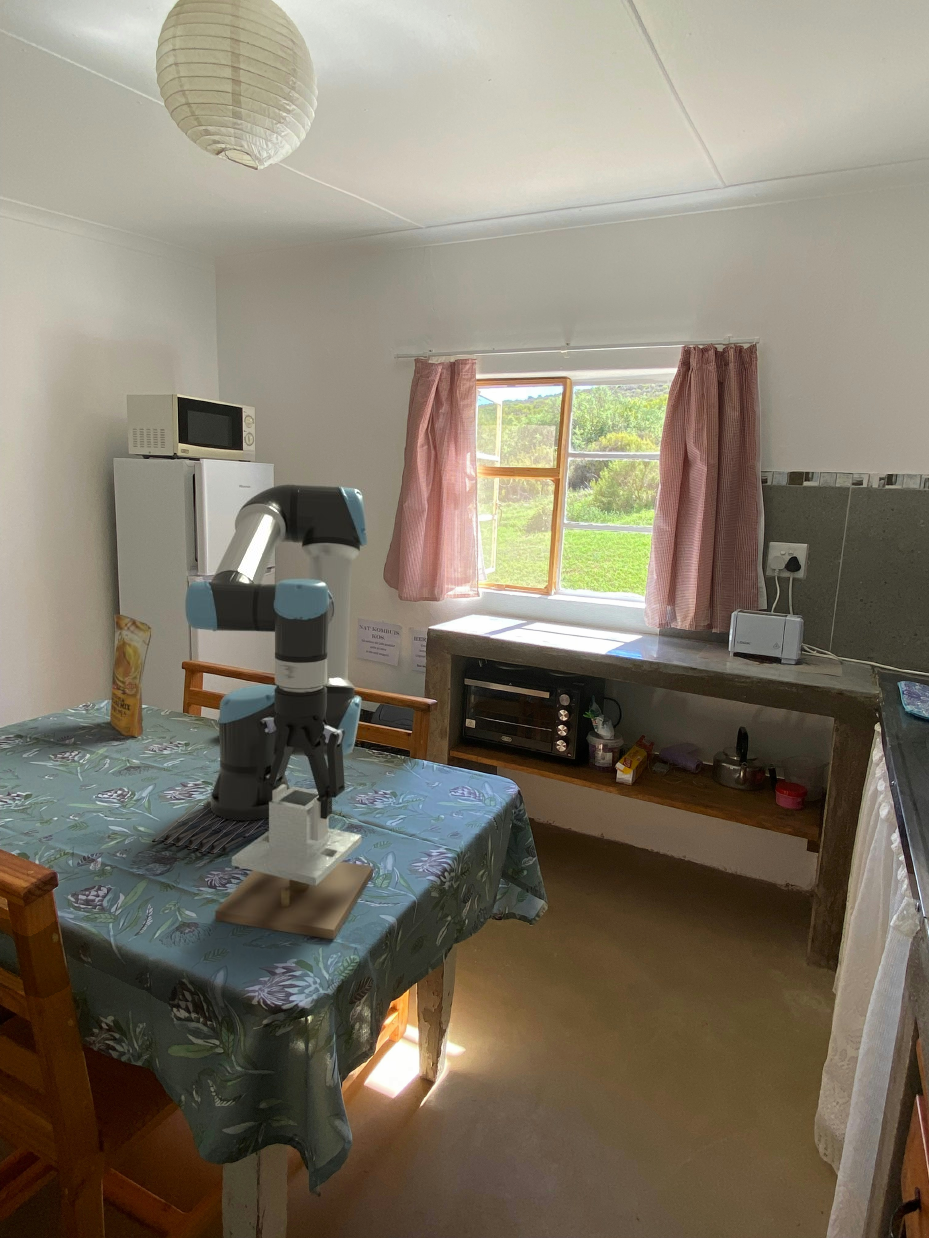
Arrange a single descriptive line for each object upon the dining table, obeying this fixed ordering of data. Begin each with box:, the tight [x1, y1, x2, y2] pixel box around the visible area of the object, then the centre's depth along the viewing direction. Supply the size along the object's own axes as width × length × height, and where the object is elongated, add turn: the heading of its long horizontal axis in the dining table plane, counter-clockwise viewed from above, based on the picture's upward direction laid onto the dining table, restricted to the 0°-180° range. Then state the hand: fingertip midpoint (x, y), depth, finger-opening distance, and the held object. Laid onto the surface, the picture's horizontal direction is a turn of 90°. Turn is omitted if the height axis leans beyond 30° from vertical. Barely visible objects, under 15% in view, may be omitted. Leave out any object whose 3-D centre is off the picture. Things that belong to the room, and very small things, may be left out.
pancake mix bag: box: [109, 613, 153, 738], centre depth 180 cm, size 7×19×28 cm, turn 42°
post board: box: [214, 861, 374, 940], centre depth 111 cm, size 18×18×10 cm
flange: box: [231, 786, 363, 886], centre depth 110 cm, size 14×14×9 cm
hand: (299, 831), depth 110 cm, fingers closed on flange, 6 cm apart
